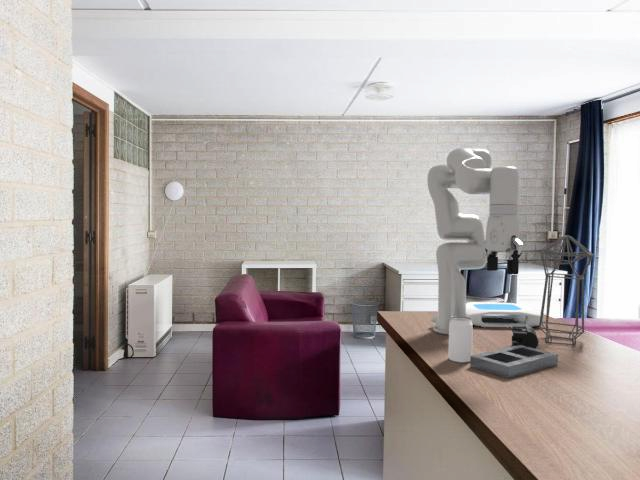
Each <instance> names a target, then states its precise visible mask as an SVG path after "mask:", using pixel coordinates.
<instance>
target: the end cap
mask: <svg viewBox="0 0 640 480" xmlns="http://www.w3.org/2000/svg"><path fill="white" fill-rule="evenodd" d="M511 333H512V335H511V347H512V346H516V345H522V346H527V347H531V348H535V349H538V348H537V347H538V345H539V339H538V336H537V333H536V331H535V329H534V327H530V326H528V325H526V327H515V326H513V327H512V328H511Z"/></svg>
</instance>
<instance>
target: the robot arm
mask: <svg viewBox="0 0 640 480" xmlns="http://www.w3.org/2000/svg"><path fill="white" fill-rule="evenodd" d="M491 167H492V156H491V154H490V152H489V150H487V149H484V148H473V147H470V148H468V147H460V148H456V149H453V150H451V151H450V152H449V153H448V155H447V157H446V164H438V165H437V164H436V165H434V166H432V167H431V168H429V170H428V173H427V182H426V183H427V190H428V191H429V195H430V198H431V200H432V203H433V206H434V212H435V213H434V214H435V223H436V228H437V234H438V236H439V238H440V239H442V240H445V241H451V242H445V243H441V244H440V245H438V247H437V249H436V253H435V257H436V265H437V272H438V273H437V274H438V286H437V287H438V288H437V289H438V290H437V291H438V294H437V295H438V296H437V298H438V301H437V303H438V304H437V315H434V316H433V317H432V318H431V319H430V322H432V323H435V325H434V326H433V332H435V333H437V334H443V335H448V336H449V322H450V320H451V317H454V316H462V317H466V303H467V282H466V278H465V277H464V276H463V274H462V273H461V271H460V270H462V271H463V270H481V269H483V268H485V267H486V270H487V271H489V272H490V271H491V272H492V271H494V272H495V271H498V269H499V257H498V256H497V255H498V254H499V253H505V254H506V256H507V257H508V259H507V261H506V273H507V275H519V266H520V264H519V263H520V261H519V260H520V259H521V256H522V254H523V249H524V247H525V244H524V243H523V242H522V241H521V240H520V226H519V225H520V224H519V218H518V217H519V215H518V213H519V177H520V176H519V173H520V172H519V169H518V168H517V167H515V166H496V167H492V168H491ZM449 189H460V190H461V191H462V192H463V193H466V194H468V195H489V204H488V205H489V208H488V209H489V210H488V212H489V214H488V215H489V216H488V217H487V223H486V227H485V228H486V230H485V231H484V225H483V222H482V219H481V218H480V217H479V216H478V215H476V214H473V213H461V212H460V207H459V202H458V199H457V198H456V196H454V194H453V192H451V191H449ZM453 241H456V242H453ZM457 241H461V242H457ZM462 241H467V242H462Z"/></svg>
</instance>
